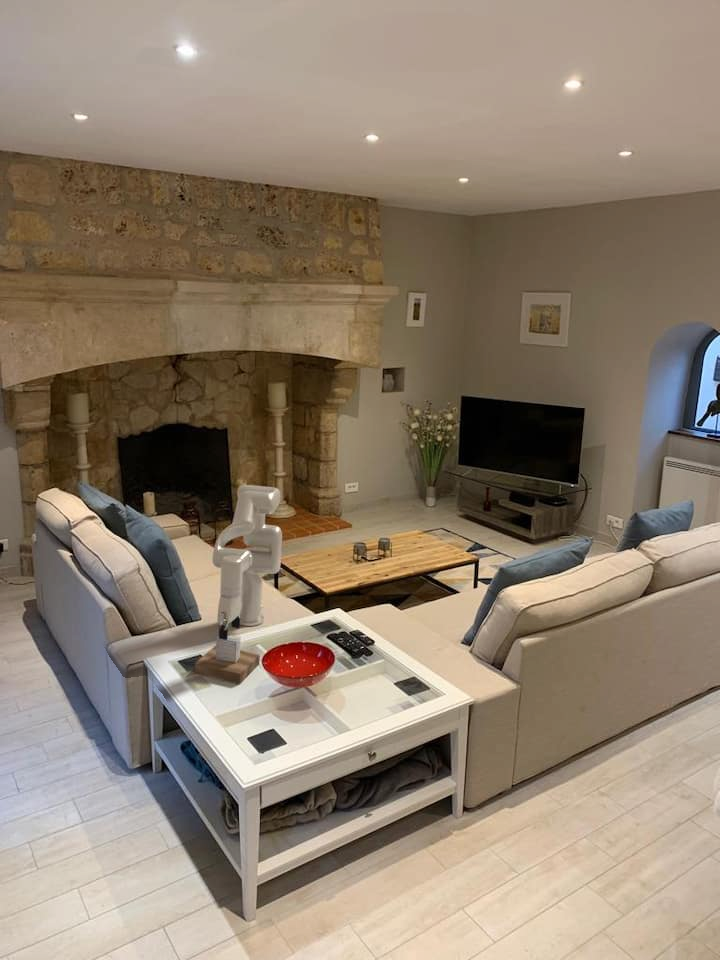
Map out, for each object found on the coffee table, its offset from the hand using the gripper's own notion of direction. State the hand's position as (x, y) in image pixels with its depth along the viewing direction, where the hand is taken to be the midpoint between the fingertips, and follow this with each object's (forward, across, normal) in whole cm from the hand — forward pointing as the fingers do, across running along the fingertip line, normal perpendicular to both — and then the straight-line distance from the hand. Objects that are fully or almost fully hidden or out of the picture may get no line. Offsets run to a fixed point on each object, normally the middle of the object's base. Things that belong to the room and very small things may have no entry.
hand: (229, 633), depth 264 cm
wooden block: (+14, +1, 0) cm, 14 cm away
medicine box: (+10, +1, 0) cm, 10 cm away
